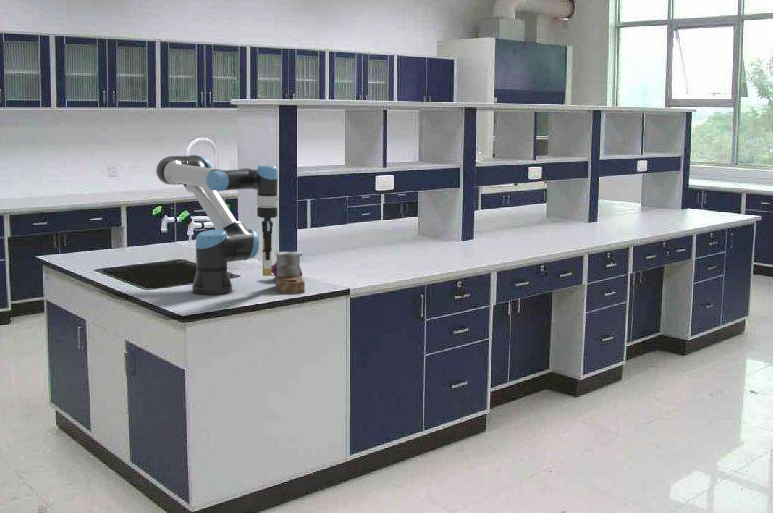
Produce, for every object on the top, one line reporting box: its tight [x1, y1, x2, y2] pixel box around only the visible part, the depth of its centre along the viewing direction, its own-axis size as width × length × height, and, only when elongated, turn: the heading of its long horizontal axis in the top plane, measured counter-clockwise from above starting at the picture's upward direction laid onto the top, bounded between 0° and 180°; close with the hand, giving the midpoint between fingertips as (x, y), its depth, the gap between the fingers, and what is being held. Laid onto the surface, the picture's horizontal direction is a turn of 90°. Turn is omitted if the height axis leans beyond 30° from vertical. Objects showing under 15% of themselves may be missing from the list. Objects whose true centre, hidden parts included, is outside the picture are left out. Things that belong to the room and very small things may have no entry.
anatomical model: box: [271, 260, 303, 281], centre depth 349 cm, size 12×10×15 cm
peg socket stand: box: [274, 251, 306, 294], centre depth 330 cm, size 10×14×14 cm
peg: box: [262, 238, 273, 277], centre depth 322 cm, size 3×3×14 cm
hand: (267, 267), depth 323 cm, fingers closed on peg, 3 cm apart
